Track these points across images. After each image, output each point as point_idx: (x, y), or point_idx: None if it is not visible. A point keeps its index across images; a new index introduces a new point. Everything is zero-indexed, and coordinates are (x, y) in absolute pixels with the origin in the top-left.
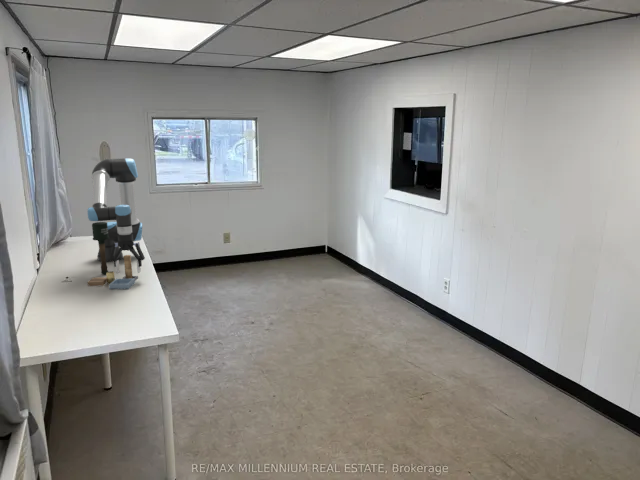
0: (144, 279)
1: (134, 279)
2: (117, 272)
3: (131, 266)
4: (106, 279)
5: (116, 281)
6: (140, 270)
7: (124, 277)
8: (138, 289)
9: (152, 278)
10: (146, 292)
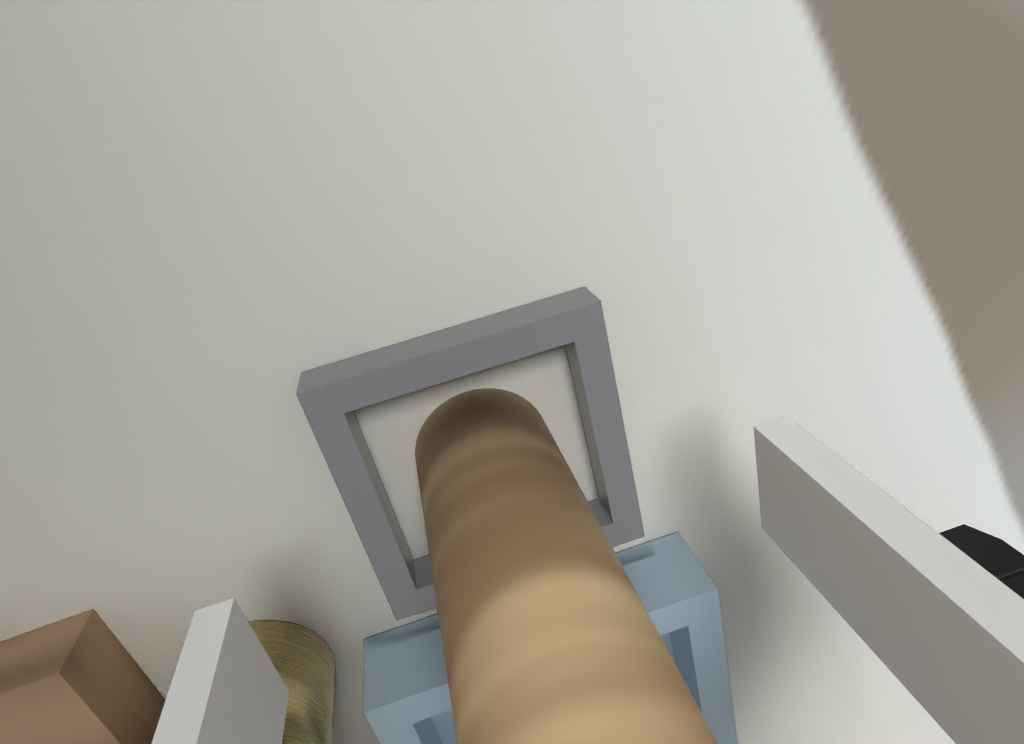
0: (752, 325)
1: (715, 598)
2: (277, 710)
3: (669, 656)
4: (128, 734)
5: (425, 732)
6: (807, 432)
7: (364, 479)
8: (838, 694)
9: (882, 223)
10: None
